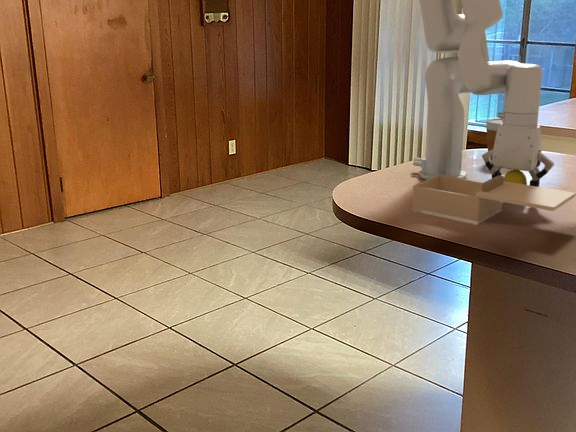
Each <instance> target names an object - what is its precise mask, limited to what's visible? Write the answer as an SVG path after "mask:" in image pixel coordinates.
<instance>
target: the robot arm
mask: <svg viewBox="0 0 576 432" xmlns="http://www.w3.org/2000/svg"><path fill="white" fill-rule="evenodd" d="M419 4H420V11H421V12H420V13H421V19H422V26H423V33H424V38H425V44H426V46H427V48H428V50H429V51H431V52H432V53H435V54H436V53H437V54H447V53H448V54H449V53H458V55H456V56H447V57H440V58H436V59H435V60H433V61H431V62H430V63H429V64H428V66H427V67H426V69H425V74H424V83H425V88H426V89H425V90H426V95H427V96H426V97H427V111H426V112H427V114H426V116H427V117H426V141H425V158H422V157H416V156H415V157H414V159H413V166H416V167H420V168H421V169H420V170H419V172H418V177H420V179H423V180H424V181H426V180H428V179H430V178H433V177H435V176H438V175H443V176H449V177H455V178H461V179H467V175H468V173H467V171H465V170H463V169H462V161H463V160H462V159H463V142H464V130H465V129H464V127H465V126H464V125H465V109H464V105H463V103H462V100H461V98H460V96H459V95H461V94H466V93H469V94H470V93H471V94H472V95H475V96H487V95H489V96H490V95H497V94H499V95H500V94H504V103H503V111H499V112H498V113H497V119H502V122H503V123H502V124H499V126H498V130H497V134H496V138H495V143H494V149H492V150H490V151H488V150H487V152H484V153H483V154H481V158H482V159H483V162H484V163H485V167H486V168H487V169H488V170H489V173H490V174H491V179H492V178H494V177H496V176H498V175H501V176H502V172H501V169H509V170H513V169H514V170H520V171H522V172H528V173H529V175H530V177H531V180H529V185H530V186H536V187H540V181H541V179H542V178H544V176H546V175H547V174H549V172H550V171H551V169H552V168H553V167H554V166H555V163H554V162H553V161H552V160H551V159H550V158H548V157H547V156H546V155H545V154H544V153H543V152H542V146H543V145H542V131H541V125H538V122H539V112H540V111H539V110H540V100H541V91H542V89H541V88H542V81H543V80H542V79H543V69H542V67H541V65H539V64H534V63H522V62H518V61H515V60H511V59H510V60H507V59H506V60H491V61H490V54H489V48H488V41H487V33H486V31H487V29H490V28H492V27H493V26H495V25H497V24H499V22H500V21H501V20H502V18H503V14H504V13H503V8H502V4H501V1H500V0H460V5H461V9H462V13H463V14H462V13H461V14H459V13H457V10H456V6H455V0H419ZM492 155H493V156H492ZM491 156H492V161H491V158H490V157H491ZM541 163H542V164H543V165H544V167H543V168H542V169H541V170H540V168H539V167H540V166H541Z"/></svg>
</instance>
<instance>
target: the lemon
mask: <svg viewBox="0 0 576 432" xmlns="http://www.w3.org/2000/svg"><path fill="white" fill-rule="evenodd" d="M503 176H504V181H506V182H512V183H518V184H524V185H528V181H527V176H526V175H525V173H524V171H521V170H514V169H510V170H509V171H507V172H506V173H505V175H503Z"/></svg>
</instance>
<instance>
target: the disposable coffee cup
mask: <svg viewBox="0 0 576 432" xmlns="http://www.w3.org/2000/svg"><path fill="white" fill-rule="evenodd" d="M502 123H503V122H502V119H501V118H491V119H490V118H489V119H487V120H486V123H485V124H484V126H485V129H486V142H487V145H486V146H487V152H488V151H490V150H492V149H494V143H495V138H496V134H497V130H498V126H499V124H502ZM492 156H493V155H492ZM492 156H491V157H490V158H491V161H492Z"/></svg>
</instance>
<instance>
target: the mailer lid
mask: <svg viewBox="0 0 576 432" xmlns="http://www.w3.org/2000/svg"><path fill="white" fill-rule="evenodd" d="M504 176H505V175H502V174H501V175H498V176H496V177H494V178H492V177H491V178H490V179H488V180H485V181H484V183H483V185H482V190H481V191H479V192H477V193H476V195H475V197H479V198H485V199H490V200H496V201H501V202H503V203H508V204H513V205H519V206H522V207H523V206H524V207H529V208H533V209H540V210H544V211H551V212H554V211H556V210H557V209H559V208H561V207H562V206H564V205H565V204H566V203H568V202H569V201H571V200H573V199H574V198H575V197H576V192H573V191H566V190H561V189H560V190H559V189H553V188H548V187H542V186H539V187H536V186H530V184H527V185H524V184H518V183H512V182H506V181H504Z"/></svg>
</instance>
